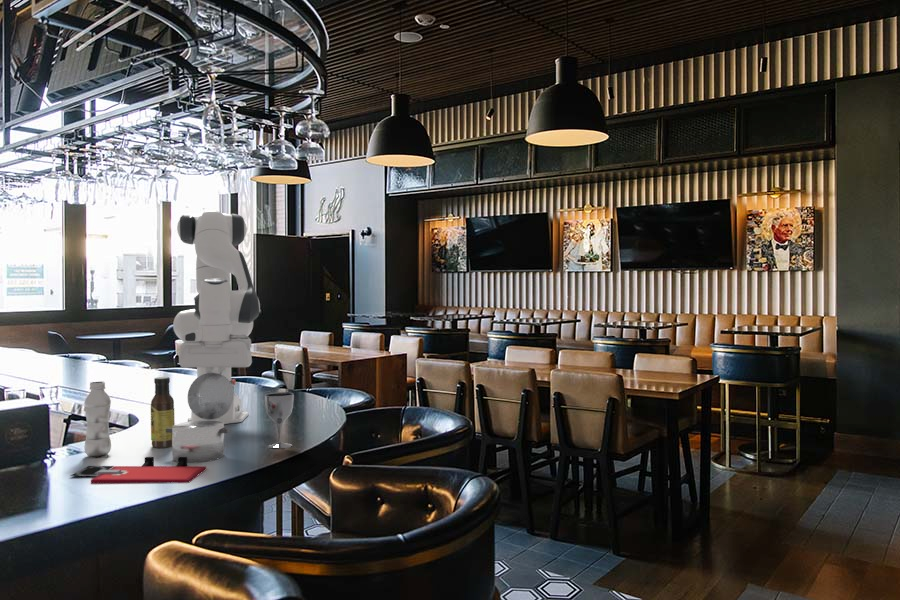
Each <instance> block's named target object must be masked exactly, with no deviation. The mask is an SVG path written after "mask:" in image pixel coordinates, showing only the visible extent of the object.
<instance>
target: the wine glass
mask: <svg viewBox="0 0 900 600" xmlns="http://www.w3.org/2000/svg"><path fill="white" fill-rule="evenodd" d="M294 398H295V397H294V393H293V392H289V391H288V392H287V391H280V392H279V391H277V392H270V393H269V392H268V393H265V394H264V404H265V405H264V406H265V411H266V413H267V415H268V416H269V418H270V419H271V420H272V421H273V423H275V425H276V429H277V438H278V439H277V442H276V443H273V444H272V445H271V444H269V447H271V448H285V449H289V448H292V447H293V444H291V443H286V442H283V441H282V429H283V425H284V423H285V422H286V420H287V419H288V418H289V416H291V414H292V412H293V407H294ZM291 446H292V447H291Z"/></svg>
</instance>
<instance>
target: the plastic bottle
mask: <svg viewBox="0 0 900 600" xmlns="http://www.w3.org/2000/svg"><path fill="white" fill-rule="evenodd" d="M105 390H106V382H105V381H91V382H89V393H88V394H87V396H86V398H85V400H84V411H85V416H86V418H85V419H86V435H85V436H86V437H85V441H84V453H85V454H86V456H88V457H102V456H105V455H108V454H109V453H110V452H111V449H112V442H111V441H112V440H111V437H110V427H109V425H110V423H109V420H110V410H111V403H112V401H111V397H110V396H109V395H108V393H107V392H106V391H105Z"/></svg>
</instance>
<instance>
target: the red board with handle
mask: <svg viewBox="0 0 900 600" xmlns="http://www.w3.org/2000/svg"><path fill="white" fill-rule="evenodd" d="M154 461H155V457H154V456H145V457H144V463H143V464H142V465H141V466H140V465H137V466H135V465H133V466H128V465H127V466H124V465H122V466H119V465H118V466H117V465H116V466H115V465H87V466H85V467H84V468H82V469H79V470H78V471H76V472H74V473H72V474H70V475H69V477H70V476H71V477H78V476H79V477H81V476H82V477H86V476H90V477H94V478H92V479H90V483H91V484H150V483H151V484H154V483H155V484H163V483H167V482H170V483H171V482H178V483H190V482H191V481H192V479H193V478H194V479H195V478H197V477H198V476H199V475H201V474H202V473H203V472H205V471H206V470H207V466H194V465H193V466H188V463H187V457H179V458H178V462H177V464H176V465H175V466H171V465H170V466H169V465H167V466H161V465H159V466H158V465H157V466H156V465H155V462H154ZM205 469H206V470H205ZM204 470H205V471H204ZM201 472H202V473H201ZM200 473H201V474H200ZM198 474H199V475H198ZM197 475H198V476H197ZM196 476H197V477H196ZM194 479H193V480H194ZM189 481H190V482H189ZM167 484H168V483H167ZM171 484H172V483H171Z"/></svg>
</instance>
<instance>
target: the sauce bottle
mask: <svg viewBox="0 0 900 600" xmlns="http://www.w3.org/2000/svg"><path fill="white" fill-rule="evenodd" d="M170 379H171V378H170V376H158V377H154V380H153V381H154V382H153V383H154V396H153V397H152V399H151V402H150V440H151V446H152V447H153V448H156V449H157V448H158V449H165V447H166V448H170V447H172V433H166V429H167V428H169V427H173V426H174V425H176V424H175V404H174V403H175V401H174V398H173V396H172V395H171V394H170V382H171V381H170Z"/></svg>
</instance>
